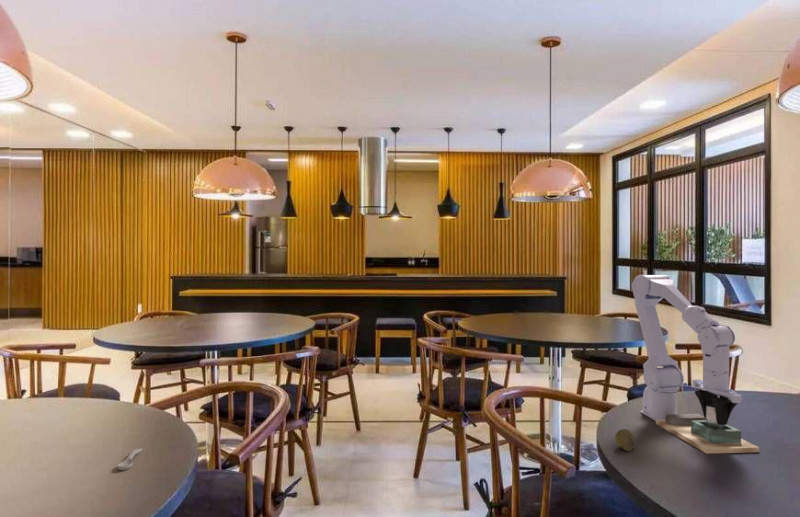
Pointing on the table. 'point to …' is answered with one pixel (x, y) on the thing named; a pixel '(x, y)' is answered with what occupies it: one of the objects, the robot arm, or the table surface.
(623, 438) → the lime
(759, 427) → the table surface
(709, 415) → the bushing
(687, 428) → the jig
